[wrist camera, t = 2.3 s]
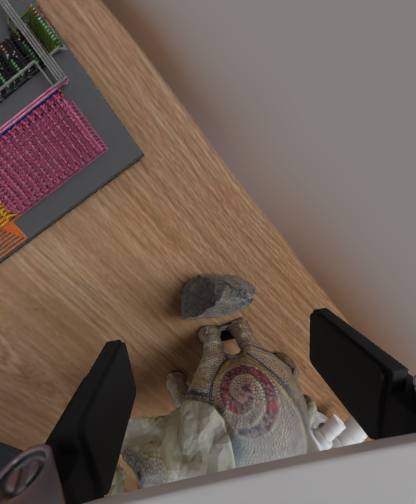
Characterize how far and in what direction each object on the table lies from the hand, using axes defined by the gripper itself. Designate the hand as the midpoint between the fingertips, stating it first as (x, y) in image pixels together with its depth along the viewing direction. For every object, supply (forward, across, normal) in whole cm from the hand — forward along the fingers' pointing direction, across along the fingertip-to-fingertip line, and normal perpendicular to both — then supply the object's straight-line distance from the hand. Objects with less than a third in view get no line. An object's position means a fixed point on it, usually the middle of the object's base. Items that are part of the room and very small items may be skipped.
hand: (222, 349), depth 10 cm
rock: (+11, -1, +1) cm, 11 cm away
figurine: (+12, -2, +10) cm, 15 cm away
